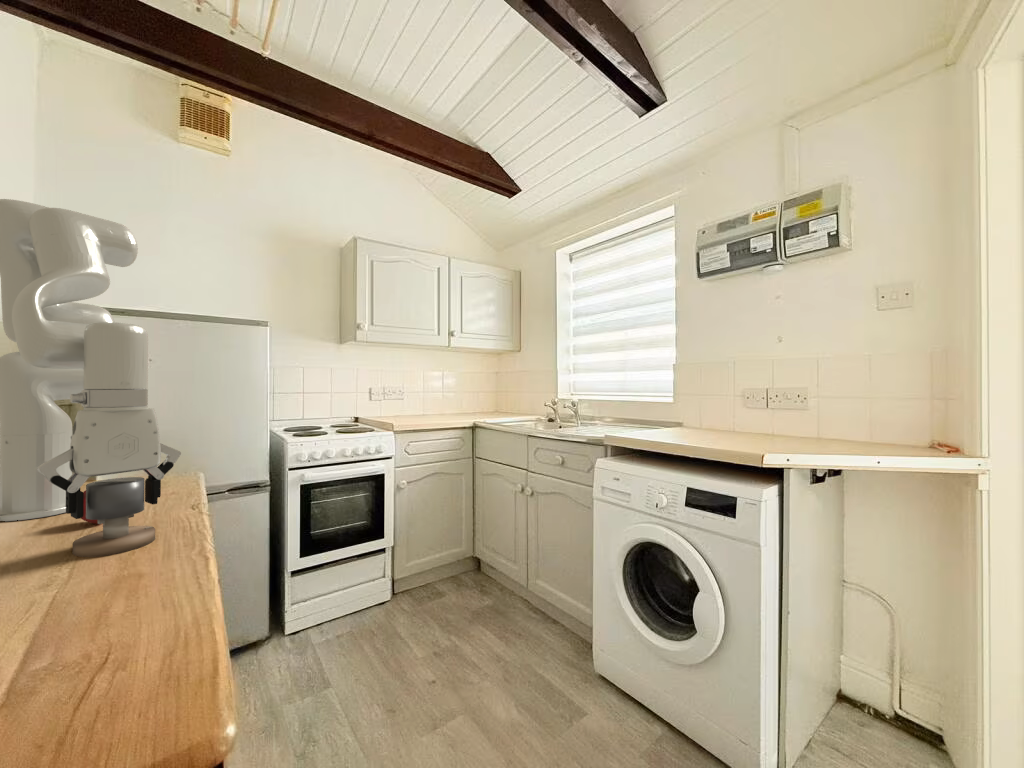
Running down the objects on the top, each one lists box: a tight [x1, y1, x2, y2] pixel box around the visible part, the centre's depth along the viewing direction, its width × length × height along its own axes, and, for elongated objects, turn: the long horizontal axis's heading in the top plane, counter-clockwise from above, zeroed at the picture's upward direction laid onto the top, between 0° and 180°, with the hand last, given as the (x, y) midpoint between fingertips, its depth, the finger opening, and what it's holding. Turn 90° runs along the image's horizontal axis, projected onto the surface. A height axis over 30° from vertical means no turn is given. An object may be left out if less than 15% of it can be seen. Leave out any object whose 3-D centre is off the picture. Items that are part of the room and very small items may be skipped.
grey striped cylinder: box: [85, 476, 145, 520], centre depth 68 cm, size 7×8×5 cm
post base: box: [72, 514, 156, 558], centre depth 68 cm, size 10×10×5 cm
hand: (116, 509), depth 68 cm, fingers open, 8 cm apart
